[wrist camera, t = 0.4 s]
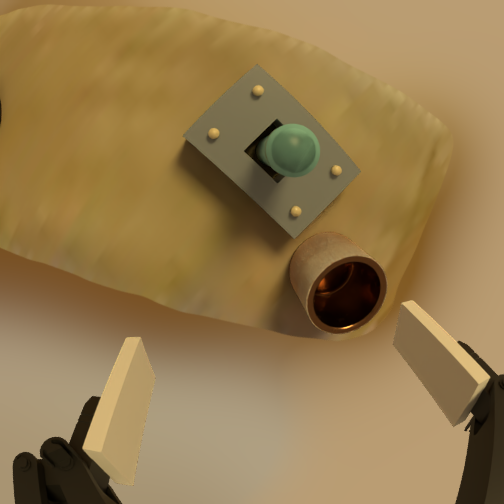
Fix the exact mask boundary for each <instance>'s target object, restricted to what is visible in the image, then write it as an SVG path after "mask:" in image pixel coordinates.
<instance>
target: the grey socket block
mask: <svg viewBox="0 0 504 504" xmlns="http://www.w3.org/2000/svg"><path fill="white" fill-rule="evenodd" d="M272 123H273V124H274V125H275V126H276V127H277V128H278V127H281V126H283V125H286V124H299V125H302V126H305V127H306V128H308V129H309V130H311V131H312V132H313V133H314V135H315V136H316V138H317V140H318V142H319V145H320V157H319V161H318V163H317V165H316V166H315V168H314V169H313V170H312V171H311V172H309V173H308V174H306V175H304V176H301V177H287V176H284V175H281V174H278V175H277V176H276V177H275V178H274V179H272V178H271V177H270V176H269V175H268V174H267V173H266V172H265V171H264V170H263V169H262V168H261V167H260V166H259V165H258V164H257V163H256V162H255V161H254V160H253V159H252V158H250V157H249V156H248V155H247V154H246V153H245V152H244V150H245V149H246V148H247V147H248V146H249V145H250V144H251V143H252V142H253V141H254V140H255V139H256V138H257V137H258V136H259V135H260V134H261V133H262V132H263V131H264V130H265V129H266V128H267V127H268V126H270V125H271V124H272ZM183 137H184V138H186V139H187V140H188V141H189V142H190V143H191V144H192V145H194V146H195V147H196V148H197V149H198V150H199V151H200V152H201V153H203V154H204V155H205V156H206V157H207V158H208V159H209V160H210V161H212V162H213V163H214V164H215V165H216V166H217V167H218V168H219V169H220V170H221V171H223V172H224V173H225V174H226V175H227V176H228V177H229V178H230V179H231V180H232V181H233V182H235V183H236V184H237V185H238V186H239V187H240V188H241V189H242V190H243V191H244V192H245V193H246V194H248V195H249V196H250V197H251V198H252V199H253V200H254V201H255V202H256V203H257V204H258V205H259V206H260V207H261V208H262V209H264V210H265V211H266V212H267V213H268V214H269V215H270V216H271V217H272V218H273V219H274V220H275V221H276V222H277V223H278V224H279V225H280V226H281V227H282V228H283V229H284V230H285V231H286V232H288V233H289V234H290V235H291V236H292V237H293V238H294V239H295V238H296V237H297V236H298V235H299V234H300V233H301V232H302V231H303V230H304V229H305V228H306V227H307V226H308V225H309V224H310V223H311V222H312V221H313V220H314V219H315V218H316V217H317V216H318V215H319V214H320V213H321V212H322V211H323V210H324V209H325V208H326V207H327V206H328V205H329V204H330V203H331V202H332V201H333V200H334V199H335V198H336V197H337V196H338V195H339V194H340V193H341V192H342V191H343V190H344V189H345V188H346V187H347V186H348V185H349V183H350V182H351V181H352V180H353V179H354V178H355V177H356V176H357V175H358V174H359V173H360V172H361V171H360V169H359V168H358V167H357V166H356V165H355V163H354V162H353V161H352V160H351V159H350V157H349V156H348V155H347V154H346V153H345V151H344V150H343V149H342V148H341V147H340V146H339V145H338V143H337V142H336V141H335V140H334V139H333V138H332V137H331V136H330V134H329V133H328V132H327V131H326V130H325V129H324V128H323V127H322V126H321V125H320V124H319V123H318V121H317V120H316V119H315V118H314V117H313V116H312V115H311V114H310V113H309V112H308V111H307V110H306V109H305V108H304V107H303V106H302V105H301V104H300V103H299V102H298V101H297V100H296V99H295V98H294V97H293V96H292V95H291V94H290V93H289V92H288V91H287V90H286V89H284V88H283V87H282V86H281V85H280V84H279V83H278V82H277V81H276V80H275V79H274V78H273V77H271V76H270V75H269V74H268V73H267V72H266V71H265V70H264V69H262V68H261V67H260V66H259V65H258V64H256V65H255V66H254V67H253V68H252V69H251V70H249V71H248V72H247V73H246V74H245V75H244V76H243V77H241V78H240V79H239V80H238V81H237V82H236V83H235V84H234V85H233V86H232V87H231V88H229V89H228V90H227V91H226V92H225V93H224V94H223V95H222V96H221V97H220V98H219V99H218V100H217V101H216V102H215V103H214V104H213V105H212V106H211V107H210V108H209V109H208V110H207V111H206V112H205V113H204V114H203V115H202V116H201V117H200V118H199V119H198V120H197V121H196V122H195V123H194V124H193V125H192V126H191V127H190V128H189V129H188V130H187V132H186V133H185V134H184V135H183Z"/></svg>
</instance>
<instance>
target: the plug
mask: <svg viewBox="0 0 504 504" xmlns="http://www.w3.org/2000/svg"><path fill="white" fill-rule="evenodd" d="M256 155H257V157H258V159H259V161H260V162H261V163H263V164H264V165H267V166H270V167H271V168H272V169H273V170H274V171H276V172H277V173H279V174H281V175H284V176H287V177H301V176H304V175H306V174H308V173H309V172H311V171H312V170H313V169H314V168H315V166H316V165H317V163H318V161H319V157H320V145H319V142H318V140H317V138H316V136H315V135H314V133H313V132H312V131H311V130H309V129H308V128H306V127H305V126H302V125H299V124H286V125H283V126H281V127H278V128H277V129H275V130H274V131H273V132H272V133H271V134H270V135H269V136H266V137H264V138H263V139H261V140H260V141H259V143H258V144H257V147H256Z"/></svg>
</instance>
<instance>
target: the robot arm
mask: <svg viewBox="0 0 504 504" xmlns="http://www.w3.org/2000/svg"><path fill="white" fill-rule="evenodd" d="M0 122H1V101H0ZM393 345H394V347H395V348H396V349H397V350H398V352H399V353H400V354H401V355H402V357H403V358H404V360H405V361H406V362H407V363H408V365H409V366H410V367H411V369H412V370H413V371H414V373H415V374H416V375H417V377H418V378H419V379H420V381H421V382H422V383H423V385H424V386H425V388H426V389H427V390H428V392H429V393H430V395H431V396H432V397H433V399H434V400H435V401H436V403H437V404H438V406H439V407H440V409H441V410H442V411H443V413H444V414H445V415H446V417H447V418H448V420H449V421H450V423H451V424H452V426H453V427H454V426H456V425H458V424H459V423H461V422H463V421H464V420H465V419H466V418H467V417H468V415H469V413H470V412H471V413H472V414H473V415H474V416H473V417H472V419H471V420H470V422H469V423H468V425H467V426H466V428H465V430H464V431H467V429H468V428H469V427H470V430H469V432H470V435H469V443H468V449H467V456H466V461H465V466H464V471H463V476H462V480H461V484H460V488H459V492H458V496H457V500H456V503H455V504H504V375H499V376H498V375H497V374H496V373H495V372H494V371H493V370H492V369H491V368H490V367H489V366H488V365H487V364H486V363H485V362H484V361H483V360H482V359H481V358H479V356H478V355H477V354H476V353H474V351H473V350H472V349H471V348H470V347H469V346H468V345H467V344H465V343H463V342H461V341H458V342H456V341H455V340H454V339H453V338H452V337H451V336H450V335H449V334H448V333H447V332H446V331H445V330H444V329H443V328H442V327H440V326H439V324H438V323H437V322H435V321H434V320H433V319H432V318H431V317H430V316H429V315H428V314H427V313H426V312H425V311H424V310H423V309H422V308H420V307H419V306H418V305H417V304H416V303H415V302H414V301H408V302H403V303H401V308H400V313H399V318H398V323H397V328H396V333H395V337H394V341H393ZM154 383H155V375H154V373H153V370H152V367H151V365H150V362H149V359H148V357H147V354H146V351H145V349H144V346H143V343H142V340H141V337H131V338H130V337H129V338H126V340H125V342H124V344H123V346H122V348H121V351H120V353H119V355H118V357H117V360H116V362H115V364H114V367H113V369H112V371H111V374H110V376H109V379H108V381H107V384H106V386H105V388H104V391H103V393H102V396H101V397H96V396H92V397H91V398H90V399H89V400H88V401H87V402H86V403H85V405H84V407H83V410H82V412H81V415H80V417H79V419H78V423H77V424H76V427H75V430H74V432H73V435H72V437H71V440H70V442H69V444H68V443H67V441H66V440H64V439H63V438H61V437H52V438H49V439H48V440H46V441H45V442H44V443H43V445H42V446H41V449H40V457H41V458H42V459H37V458H36V457H35V456H33V454H31V453H29V452H23V453H20V454H18V455H17V456H16V457H15V459H14V461H13V484H14V497H15V504H122V503H121V501H120V500H119V499H118V497H117V496H116V494H115V492H114V491H113V489H112V488H111V487H110V485H109V484H108V483H109V479H110V478H111V479H112V480H113V481H114V482H115V483H117V484H124V485H130V486H133V484H134V478H135V473H136V467H137V462H138V456H139V450H140V446H141V441H142V436H143V431H144V426H145V422H146V417H147V413H148V408H149V404H150V399H151V395H152V391H153V386H154ZM470 425H471V426H470Z"/></svg>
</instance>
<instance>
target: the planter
mask: <svg viewBox="0 0 504 504" xmlns="http://www.w3.org/2000/svg"><path fill="white" fill-rule="evenodd" d="M289 275H290V281H291V284H292V286H293V288H294V290H295V292H296V294H297V296H298V298H299V300H300V302H301V303H302V305H303V307H304V309H305V311H306V313H307V315H308V317H309V319H310V321H311V322H312V323H313V325H314V326H315V327H317V328H318V329H319V330H321V331H323V332H326V333H329V334H345V333H349V332H352V331H355V330H357V329H359V328H361V327H362V326H364V325H365V324H367V323H368V322H369V321H370V320H371V319H372V318H373V317H374V316H375V315H376V314H377V313H378V311H379V310H380V308H381V306H382V304H383V302H384V300H385V297H386V293H387V278H386V274H385V272H384V270H383V268H382V266H381V265H380V264H379V263H378V262H377V261H376V260H375V259H373V258H372V257H371V256H370V255H368V254H367V253H366V252H365V251H363V250H362V249H361V248H360V247H359V246H357V245H356V244H355V243H354V242H352V241H351V240H350V239H349V238H347V237H345V236H343V235H341V234H338V233H333V232H325V233H320V234H316V235H314V236H312V237H310V238H308V239H307V240H306V241H304V242H303V243H302V244H301V245H300V246H299V247H298V249H297V250H296V251H295V253H294V255H293V257H292V260H291V263H290V268H289Z"/></svg>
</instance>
